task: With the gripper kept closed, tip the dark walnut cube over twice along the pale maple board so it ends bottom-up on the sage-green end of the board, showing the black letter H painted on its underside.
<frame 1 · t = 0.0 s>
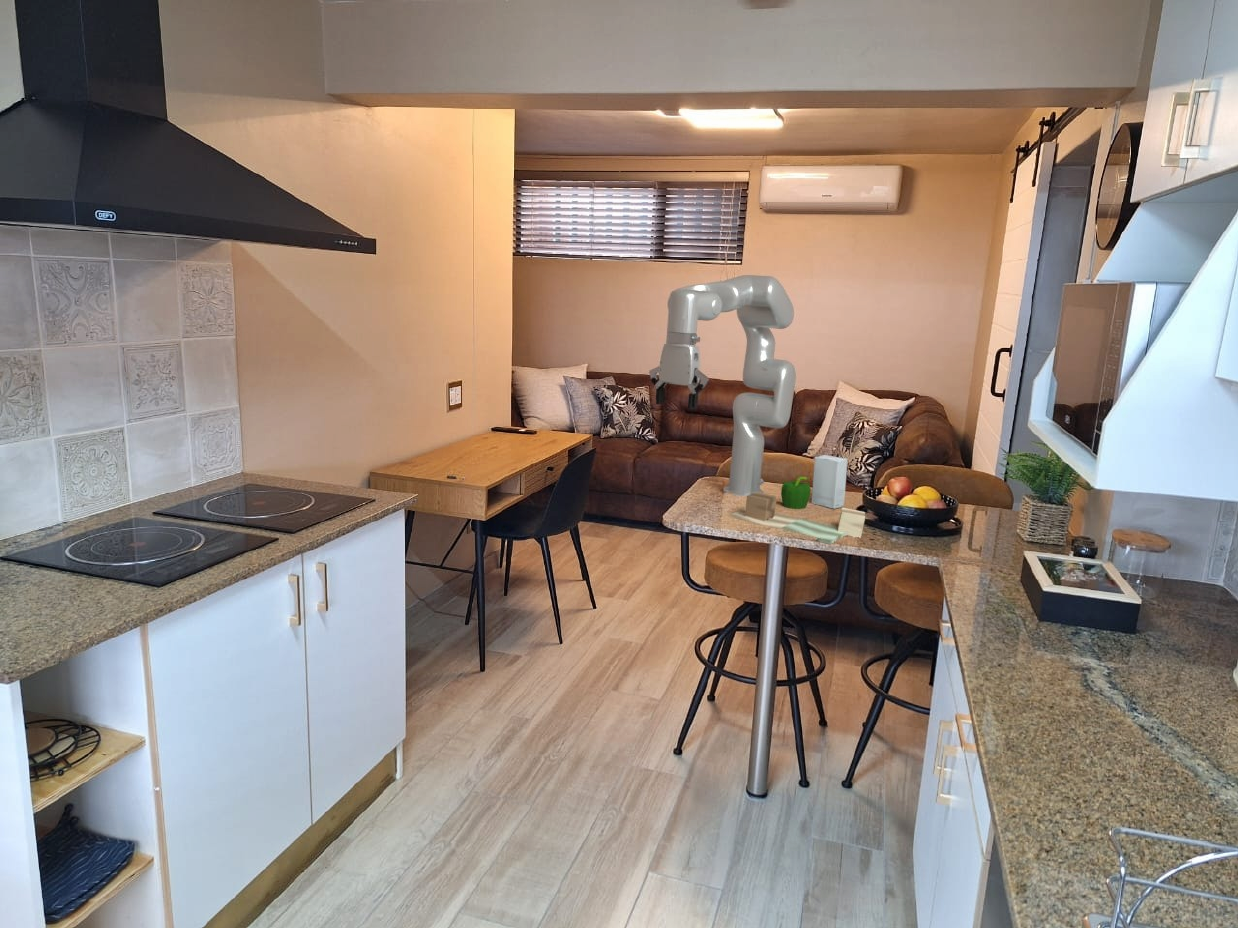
hand: (675, 406, 211), 31 cm above the countertop, tool pointing down, fingers open, 9 cm apart
board: (786, 526, 221), on the countertop
skincare box: (826, 505, 247), on the countertop
beech block: (848, 533, 218), on the countertop, touching board
walnut block: (759, 516, 225), point 1 cm above the countertop, touching board
bell pepper: (793, 510, 239), on the countertop
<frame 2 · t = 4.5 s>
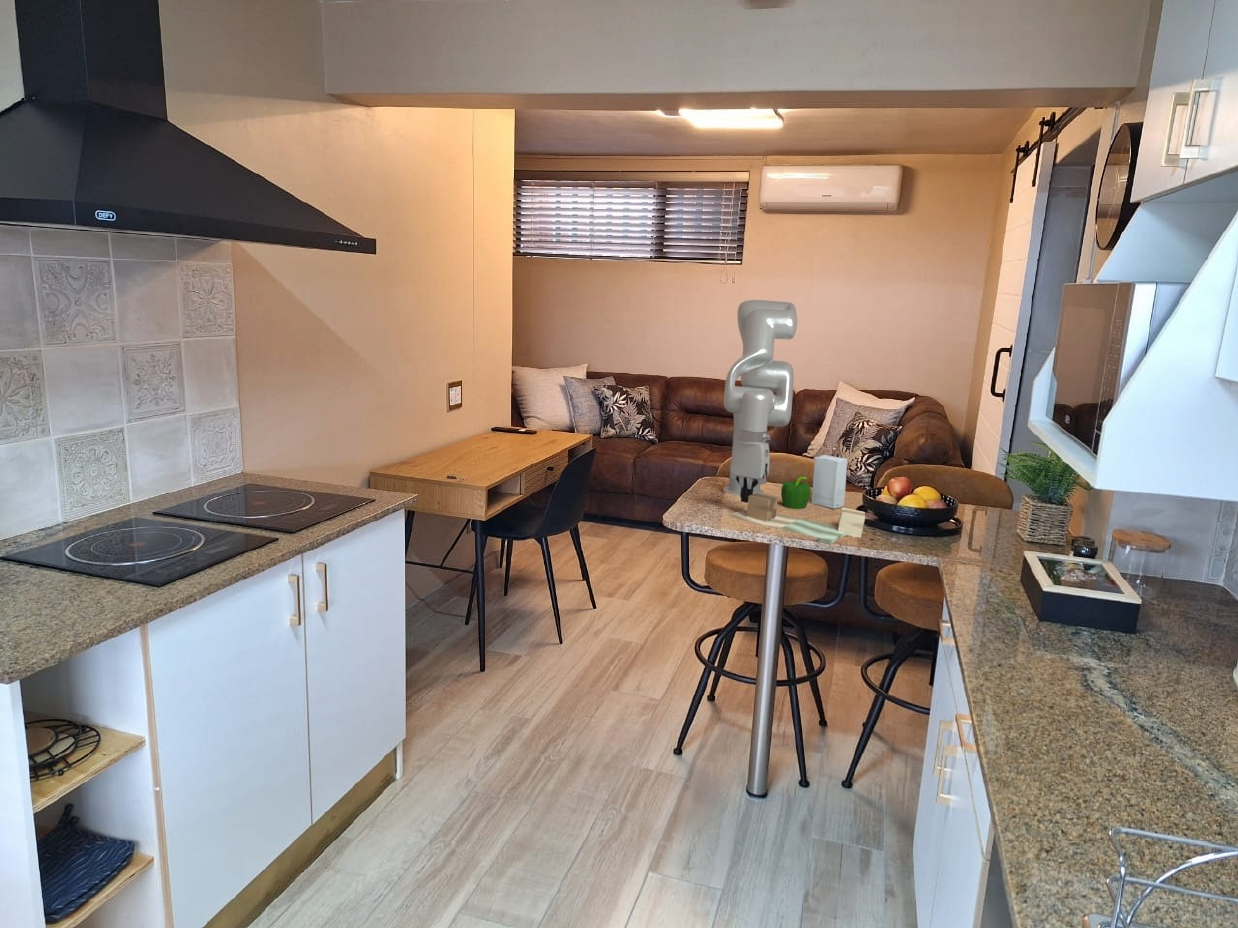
hand: (745, 501, 227), 5 cm above the countertop, tool pointing down, fingers closed
walnut block: (761, 517, 225), point 1 cm above the countertop, touching board, gripper
everything else where it was.
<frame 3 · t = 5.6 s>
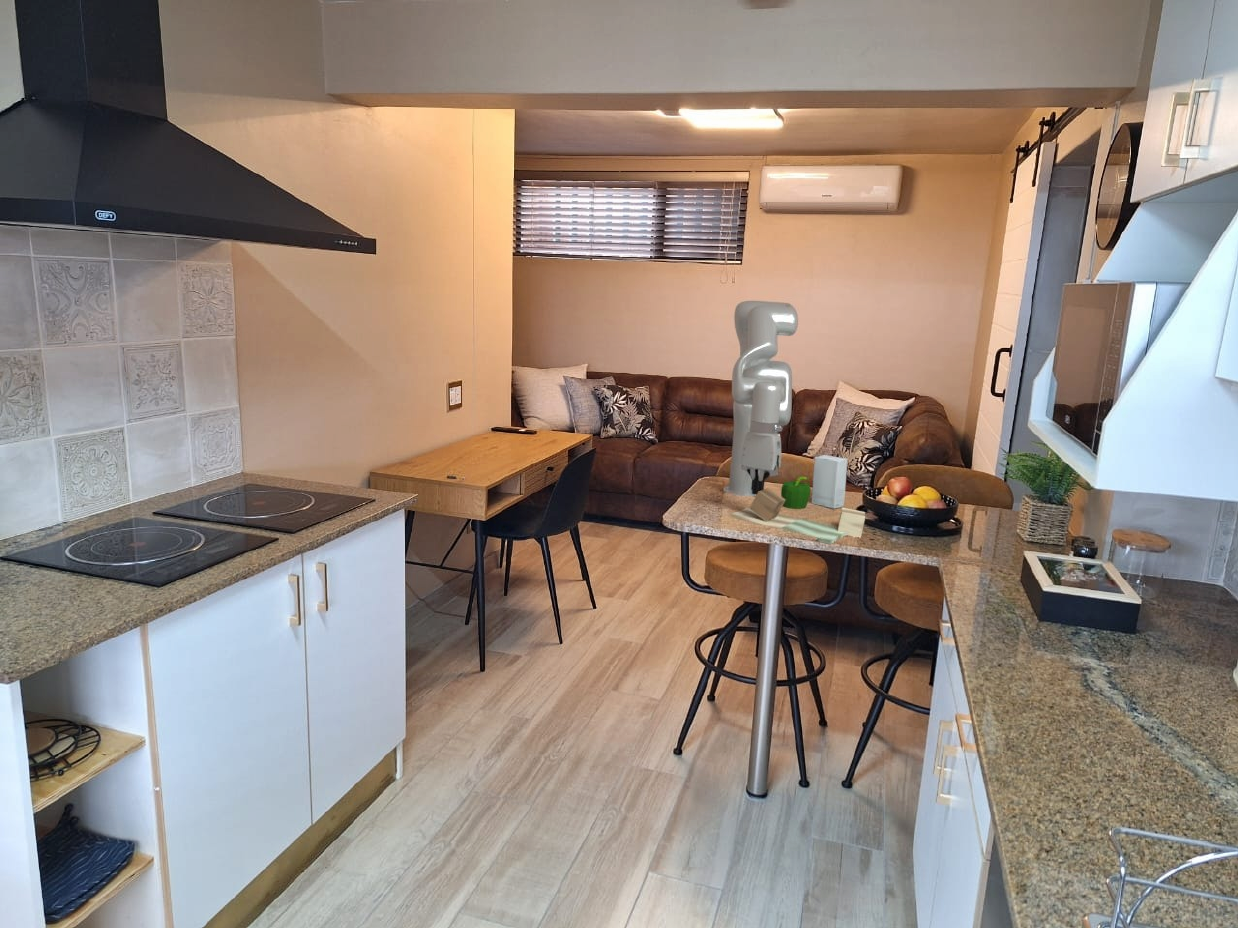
hand: (757, 493, 224), 7 cm above the countertop, tool pointing down, fingers closed
walnut block: (762, 513, 224), point 2 cm above the countertop, tilted 22°, touching board, gripper
everything else where it was.
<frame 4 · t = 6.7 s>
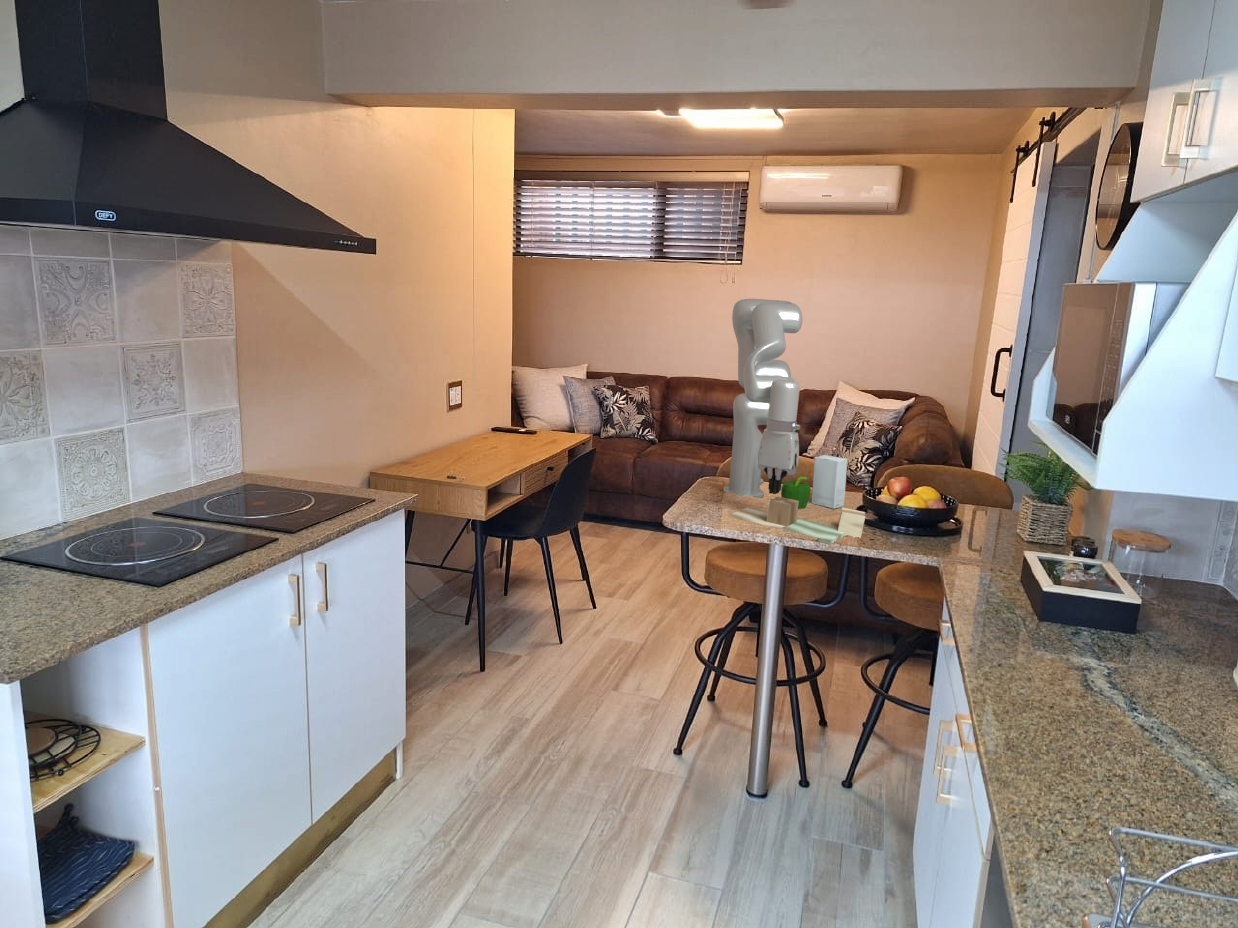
hand: (774, 492, 221), 9 cm above the countertop, tool pointing down, fingers closed
walnut block: (772, 509, 222), point 4 cm above the countertop, tilted 90°, touching board
everything else where it was.
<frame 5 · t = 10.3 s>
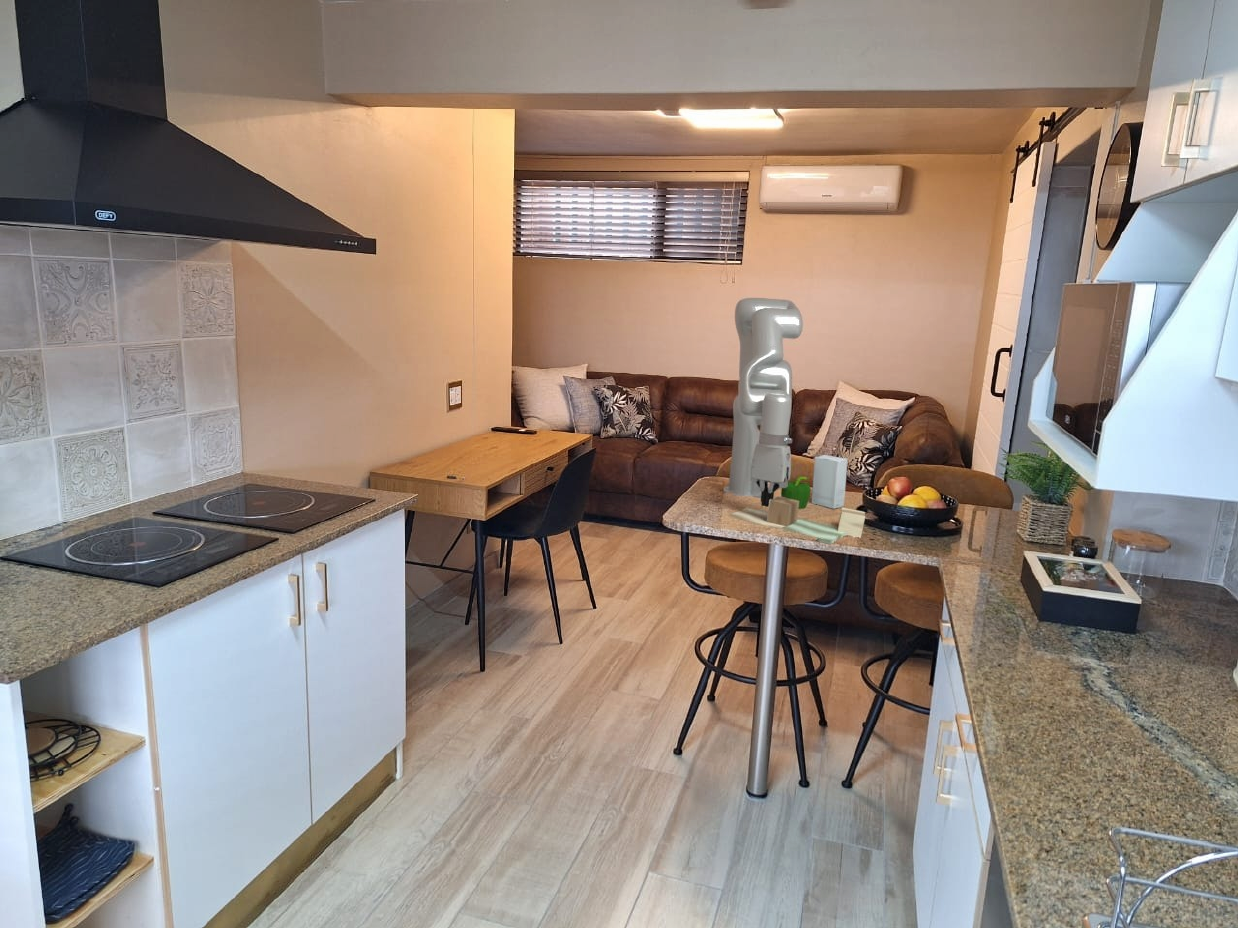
hand: (766, 505, 223), 5 cm above the countertop, tool pointing down, fingers closed
walnut block: (772, 508, 222), point 4 cm above the countertop, tilted 92°, touching board, gripper
everything else where it was.
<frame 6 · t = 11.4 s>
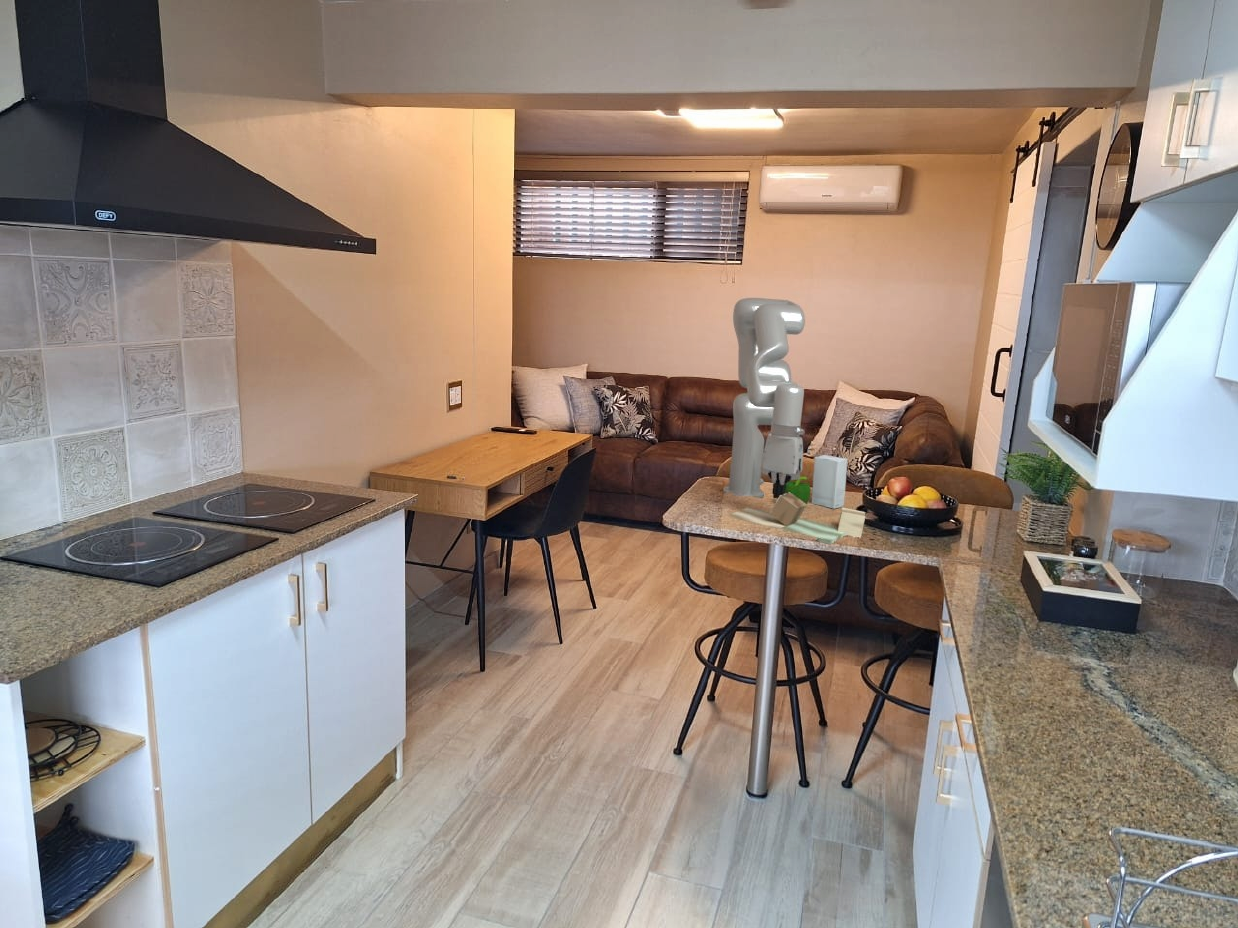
hand: (778, 497, 221), 8 cm above the countertop, tool pointing down, fingers closed
walnut block: (779, 502, 221), point 6 cm above the countertop, tilted 114°, touching board, gripper
everything else where it was.
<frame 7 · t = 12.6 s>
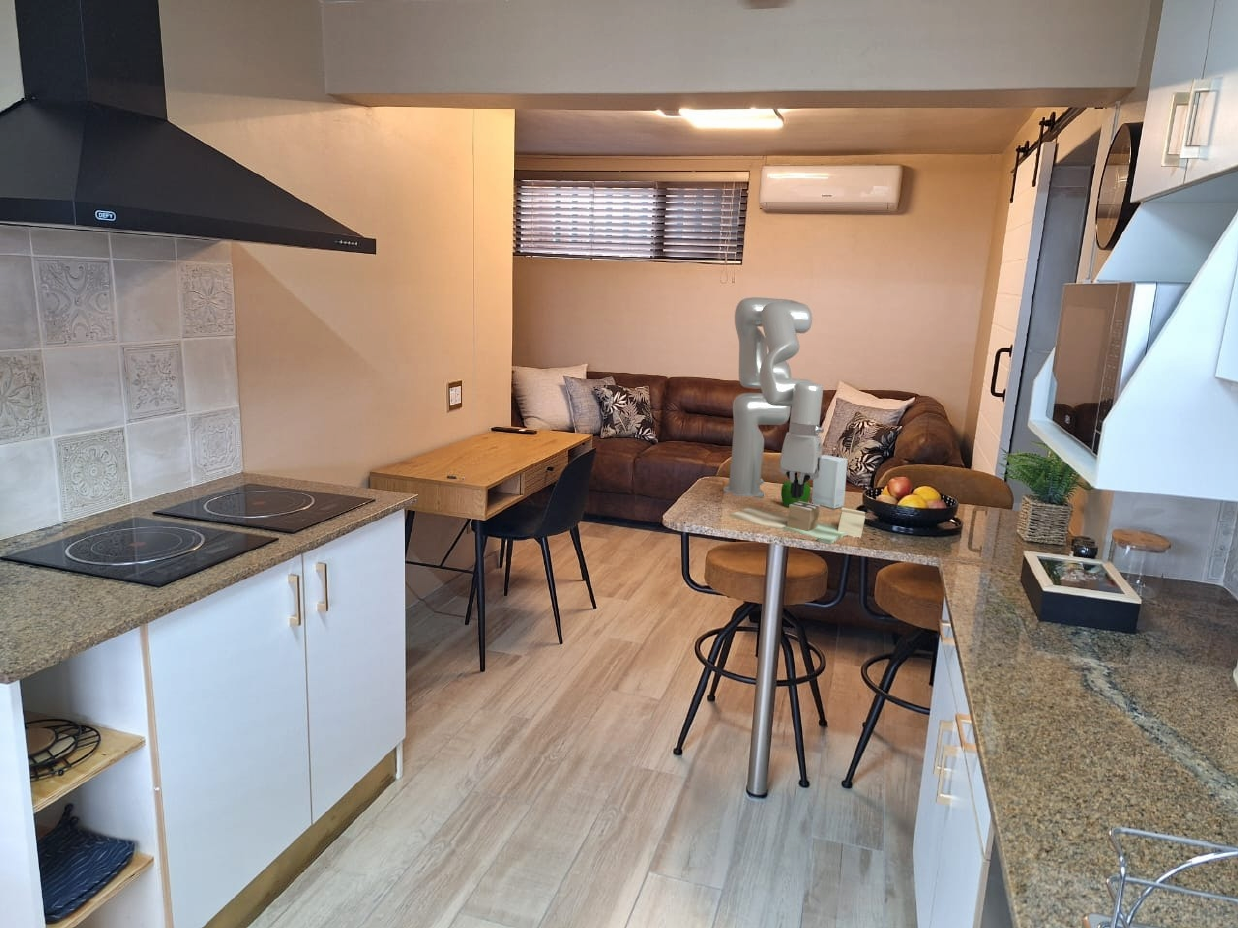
hand: (796, 497, 218), 9 cm above the countertop, tool pointing down, fingers closed
walnut block: (804, 505, 217), point 7 cm above the countertop, tilted 180°, touching board
everything else where it was.
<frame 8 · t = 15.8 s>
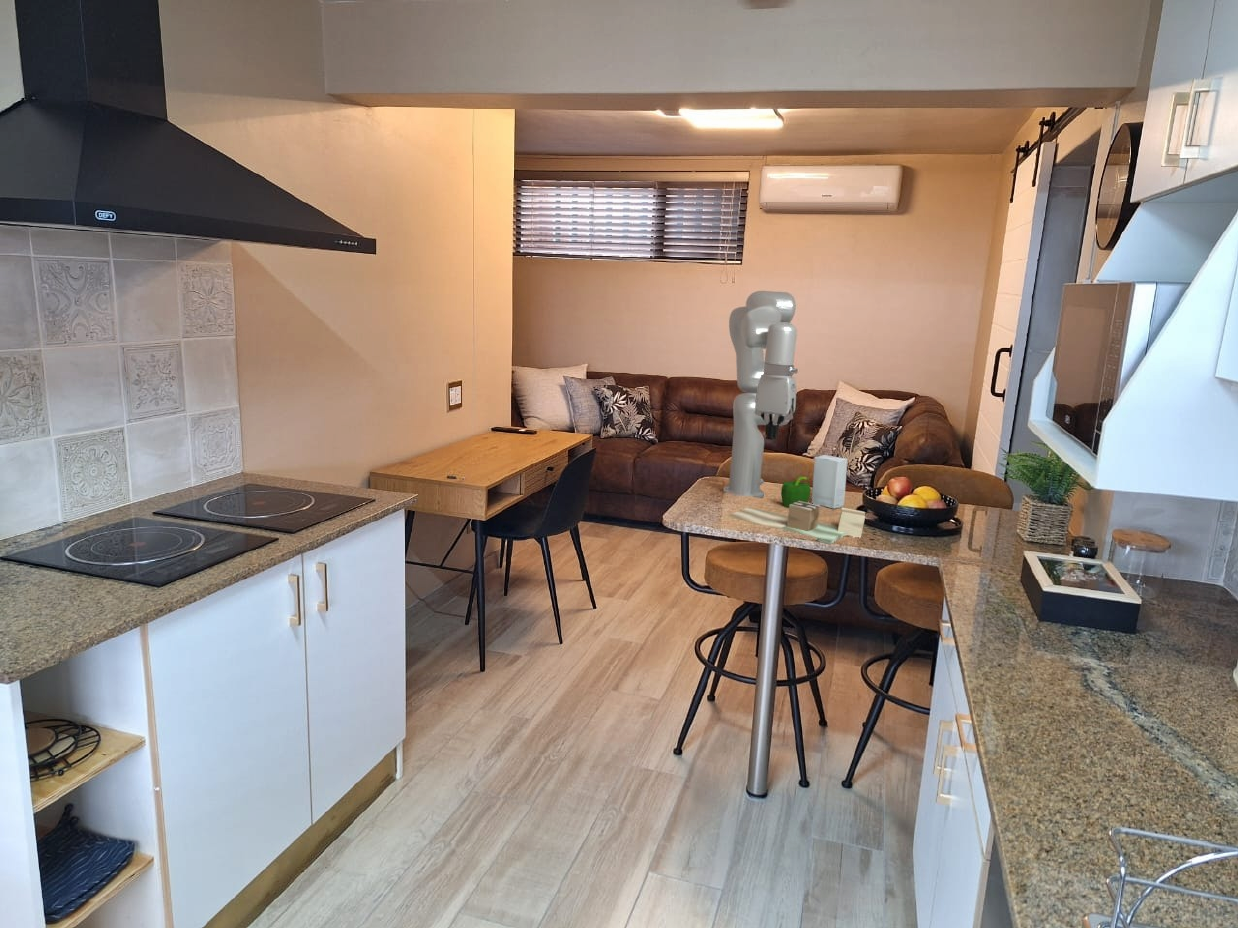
hand: (771, 438, 220), 23 cm above the countertop, tool pointing down, fingers closed
nothing on the countertop moved.
at the end: walnut block tilted 180°; walnut block inside the target area (2.9 cm from its centre), point 7.0 cm above the countertop; beech block moved 0.1 cm from its start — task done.
